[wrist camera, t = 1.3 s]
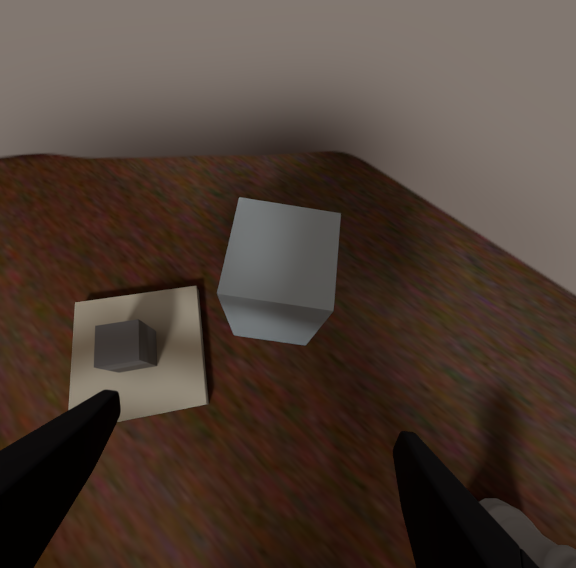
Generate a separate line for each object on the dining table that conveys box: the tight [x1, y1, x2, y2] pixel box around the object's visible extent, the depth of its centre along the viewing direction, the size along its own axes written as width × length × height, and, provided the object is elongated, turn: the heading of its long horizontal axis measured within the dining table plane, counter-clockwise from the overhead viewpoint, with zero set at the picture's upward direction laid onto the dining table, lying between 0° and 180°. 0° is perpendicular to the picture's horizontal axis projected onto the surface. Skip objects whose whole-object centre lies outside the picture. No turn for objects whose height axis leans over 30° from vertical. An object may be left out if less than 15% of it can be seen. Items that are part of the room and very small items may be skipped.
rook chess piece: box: [479, 498, 576, 568], centre depth 17 cm, size 4×4×8 cm
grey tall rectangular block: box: [217, 197, 341, 346], centre depth 20 cm, size 6×6×10 cm
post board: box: [69, 286, 209, 422], centre depth 21 cm, size 9×9×4 cm
